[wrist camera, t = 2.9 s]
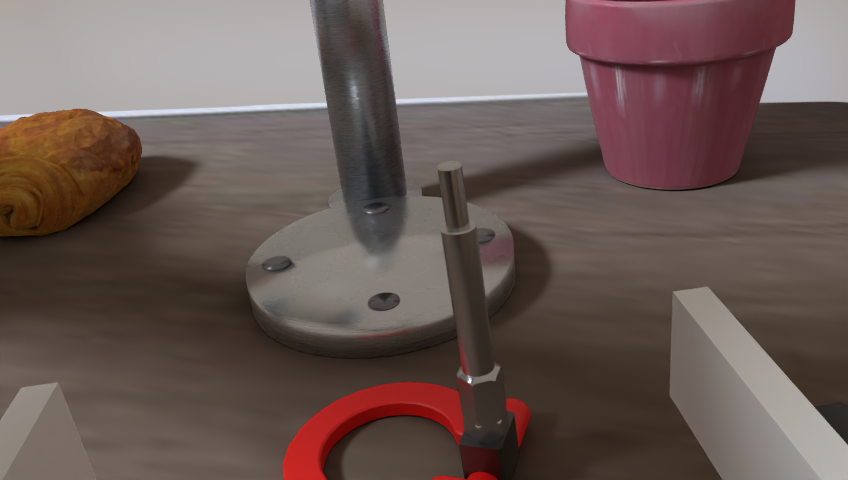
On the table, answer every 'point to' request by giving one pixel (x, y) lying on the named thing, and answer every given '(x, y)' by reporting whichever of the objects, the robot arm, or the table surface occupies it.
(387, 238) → the paper towel holder
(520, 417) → the tow hook
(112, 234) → the table surface
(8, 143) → the croissant
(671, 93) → the plant pot
